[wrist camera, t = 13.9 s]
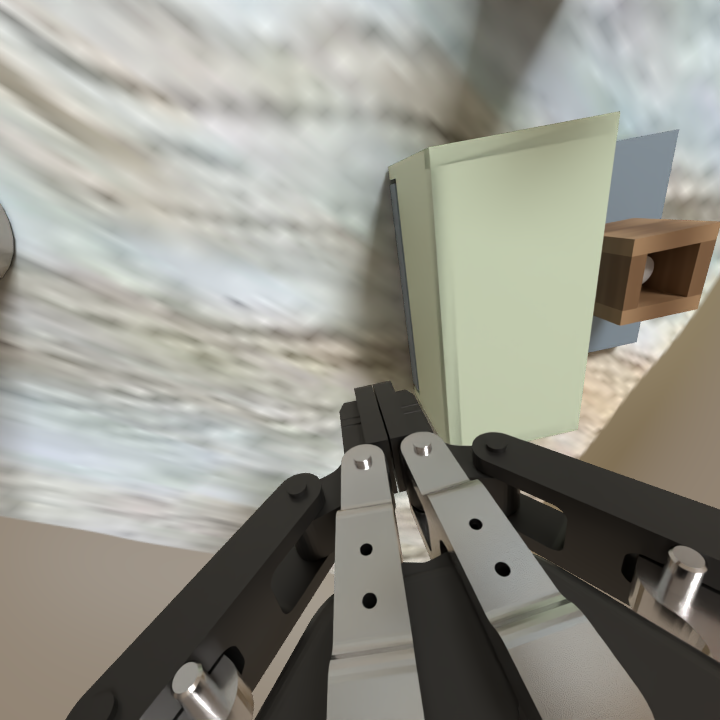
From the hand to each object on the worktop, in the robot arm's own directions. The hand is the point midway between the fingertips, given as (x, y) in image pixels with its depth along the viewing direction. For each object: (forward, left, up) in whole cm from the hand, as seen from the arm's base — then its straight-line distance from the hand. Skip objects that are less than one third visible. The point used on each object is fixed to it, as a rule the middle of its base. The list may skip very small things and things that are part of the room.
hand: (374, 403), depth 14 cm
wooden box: (+20, 0, -13) cm, 24 cm away
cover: (+9, 0, -14) cm, 17 cm away
